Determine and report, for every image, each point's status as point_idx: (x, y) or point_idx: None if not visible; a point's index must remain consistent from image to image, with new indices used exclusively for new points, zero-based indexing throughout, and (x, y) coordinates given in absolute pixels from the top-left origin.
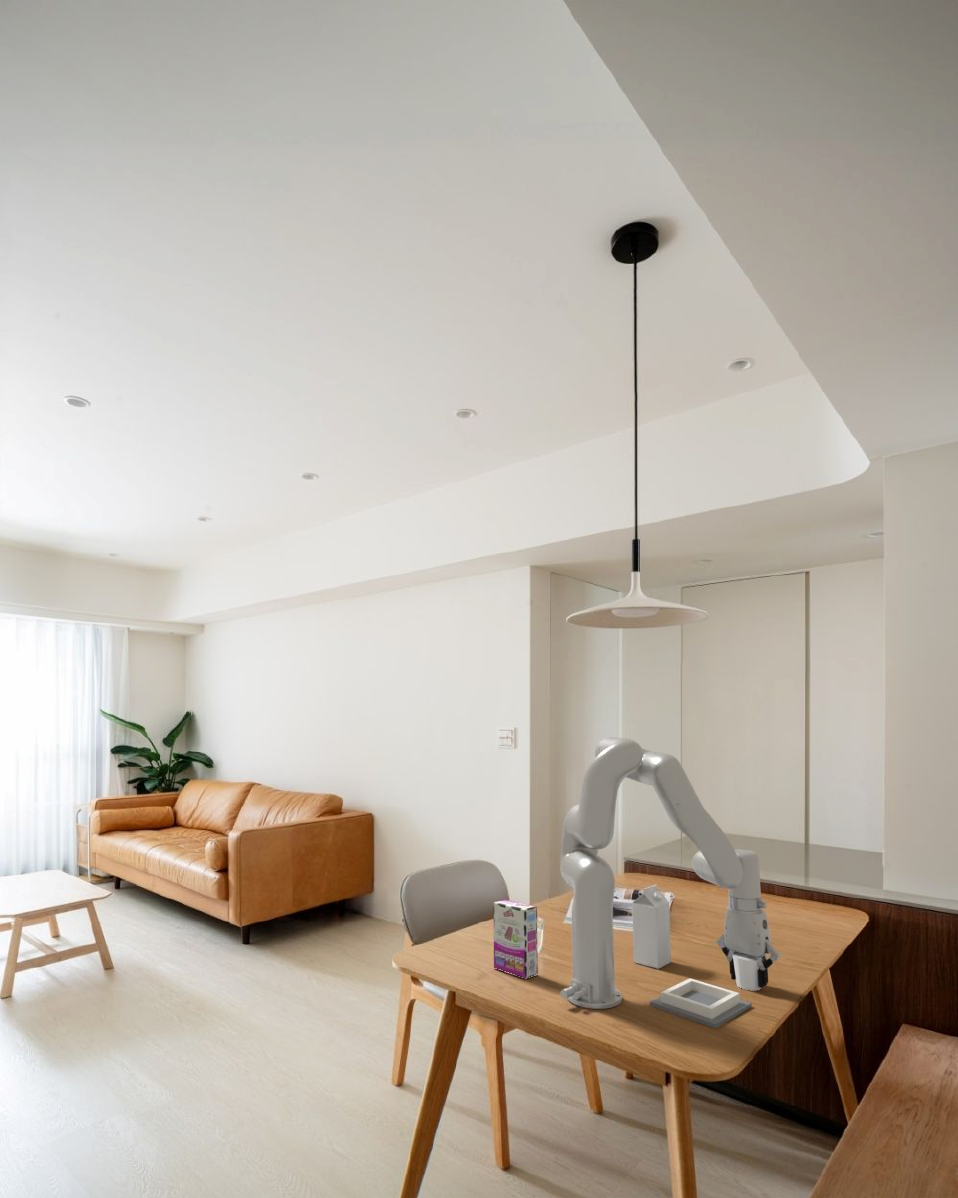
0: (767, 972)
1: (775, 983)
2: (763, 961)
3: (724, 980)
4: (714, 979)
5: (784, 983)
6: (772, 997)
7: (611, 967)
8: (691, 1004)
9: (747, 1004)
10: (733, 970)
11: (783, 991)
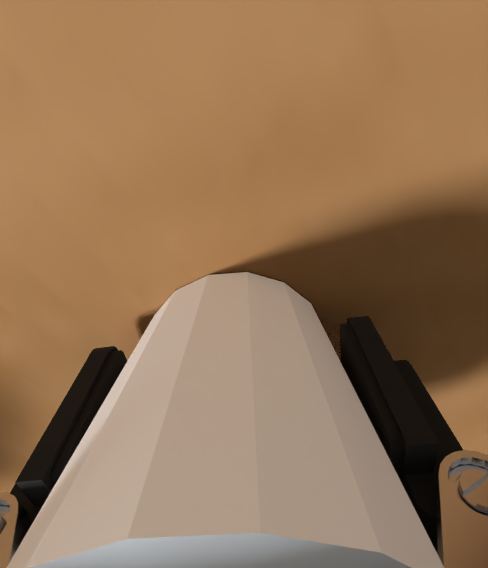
0: (449, 435)
1: (342, 105)
2: (460, 561)
3: (65, 384)
4: (25, 413)
5: (417, 3)
6: (443, 379)
7: None
8: None
9: None
10: None
11: (477, 230)
